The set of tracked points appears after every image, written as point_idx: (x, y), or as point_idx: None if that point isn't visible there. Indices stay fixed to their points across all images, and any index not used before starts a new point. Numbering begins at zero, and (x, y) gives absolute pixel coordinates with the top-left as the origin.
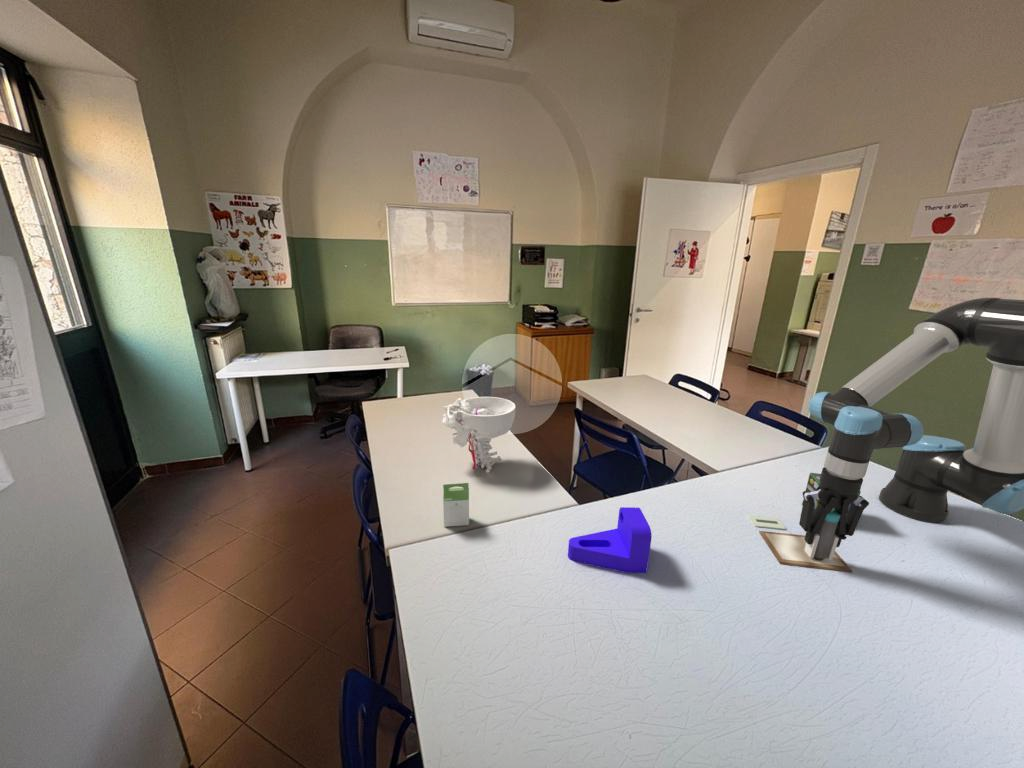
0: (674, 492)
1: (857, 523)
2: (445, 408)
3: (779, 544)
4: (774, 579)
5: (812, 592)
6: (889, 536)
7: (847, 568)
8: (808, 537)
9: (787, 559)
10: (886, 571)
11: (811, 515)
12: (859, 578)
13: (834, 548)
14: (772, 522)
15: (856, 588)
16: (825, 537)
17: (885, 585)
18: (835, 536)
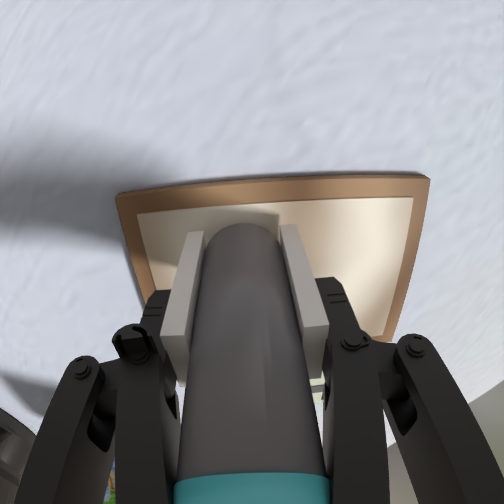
0: (476, 396)
1: (32, 453)
2: None
3: (369, 289)
4: (480, 84)
5: (374, 11)
6: (13, 372)
7: (129, 203)
8: (352, 310)
9: (396, 199)
10: (11, 238)
11: (465, 471)
12: (99, 159)
13: (181, 274)
14: (314, 388)
15: (141, 78)
16: (267, 321)
17: (26, 152)
18: (179, 345)
